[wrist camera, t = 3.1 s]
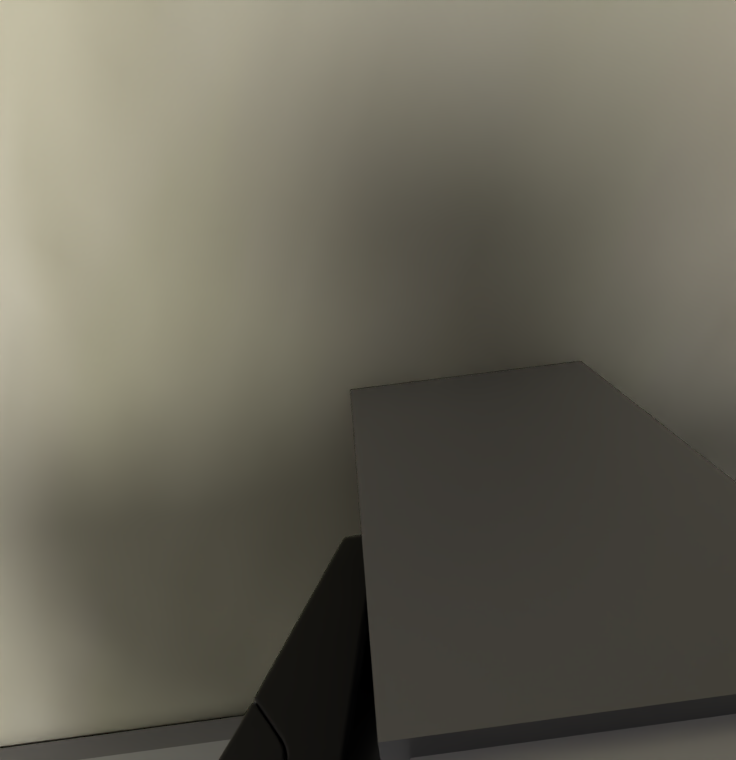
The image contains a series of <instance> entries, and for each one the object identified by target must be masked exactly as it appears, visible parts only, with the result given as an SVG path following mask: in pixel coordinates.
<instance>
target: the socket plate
mask: <svg viewBox="0 0 736 760" xmlns="http://www.w3.org/2000/svg"><path fill="white" fill-rule="evenodd" d="M243 717H244V716H238V717H231V718H223V719H216V720H208V721H201V722H193V723H186V724H178V725H171V726H163V727H156V728H148V729H141V730H134V731H126V732H119V733H111V734H104V735H96V736H89V737H81V738H74V739H66V740H59V741H51V742H44V743H37V744H29V745H22V746H14V747H7V748H0V760H219V758H220V756H221V755H222V753H223V751H224V750H225V748H226V746H227V745H228V743H229V741H230V740H231V738H232V736H233V735H234V733H235V731H236V730H237V728H238V726H239V724H240V722H241V721H242V719H243Z"/></svg>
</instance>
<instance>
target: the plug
mask: <svg viewBox="0 0 736 760" xmlns="http://www.w3.org/2000/svg"><path fill="white" fill-rule="evenodd" d="M350 392H351V405H352V418H353V430H354V443H355V456H356V469H357V481H358V494H359V507H360V520H361V532H362V545H363V558H364V571H365V583H366V596H367V609H368V622H369V635H370V647H371V660H372V673H373V686H374V698H375V711H376V724H377V737H378V746H379V753H380V759H381V760H736V482H735V481H734V480H732V479H731V478H730V477H728V476H727V475H726V474H725V473H723V472H722V471H721V470H720V469H718V468H717V467H716V466H714V465H713V464H712V463H711V462H709V461H708V460H707V459H705V458H704V457H703V456H702V455H700V454H699V453H698V452H697V451H695V450H694V449H693V448H691V447H690V446H689V445H688V444H686V443H685V442H684V441H682V440H681V439H680V438H679V437H677V436H676V435H675V434H674V433H672V432H671V431H670V430H668V429H667V428H666V427H665V426H663V425H662V424H661V423H659V422H658V421H657V420H656V419H654V418H653V417H652V416H651V415H649V414H648V413H647V412H645V411H644V410H643V409H642V408H640V407H639V406H638V405H636V404H635V403H634V402H633V401H631V400H630V399H629V398H628V397H626V396H625V395H624V394H622V393H621V392H620V391H619V390H617V389H616V388H615V387H613V386H612V385H611V384H610V383H608V382H607V381H606V380H605V379H603V378H602V377H601V376H599V375H598V374H597V373H596V372H594V371H593V370H592V369H590V368H589V367H588V366H587V365H585V364H584V363H583V362H582V361H577V362H569V363H561V364H553V365H545V366H537V367H529V368H521V369H513V370H505V371H497V372H489V373H481V374H473V375H465V376H457V377H449V378H441V379H433V380H425V381H417V382H409V383H401V384H393V385H385V386H377V387H369V388H361V389H353V390H350Z"/></svg>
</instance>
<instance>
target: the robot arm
mask: <svg viewBox="0 0 736 760" xmlns="http://www.w3.org/2000/svg"><path fill="white" fill-rule="evenodd" d="M219 760H381V759H380V753H379V746H378V737H377V724H376V711H375V698H374V686H373V673H372V660H371V647H370V635H369V622H368V609H367V596H366V583H365V571H364V558H363V545H362V535H355V536H348V537H345V538H344V539H343V540H342V542H341V544H340V545H339V547H338V549H337V551H336V553H335V554H334V556H333V558H332V560H331V562H330V563H329V565H328V567H327V569H326V570H325V572H324V574H323V576H322V578H321V579H320V581H319V583H318V585H317V587H316V588H315V590H314V592H313V594H312V596H311V597H310V599H309V601H308V603H307V605H306V606H305V608H304V610H303V612H302V613H301V615H300V617H299V619H298V621H297V622H296V624H295V626H294V628H293V630H292V631H291V633H290V635H289V637H288V639H287V640H286V642H285V644H284V646H283V648H282V649H281V651H280V653H279V655H278V656H277V658H276V660H275V662H274V664H273V665H272V667H271V669H270V671H269V673H268V674H267V676H266V678H265V680H264V682H263V683H262V685H261V687H260V689H259V691H258V692H257V694H256V696H255V698H254V703H252V704H251V705H250V706H249V708H248V710H247V711H246V713H245V715H244V717H243V719H242V721H241V722H240V724H239V726H238V728H237V730H236V731H235V733H234V735H233V736H232V738H231V740H230V741H229V743H228V745H227V746H226V748H225V750H224V751H223V753H222V755H221V756H220V758H219Z"/></svg>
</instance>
